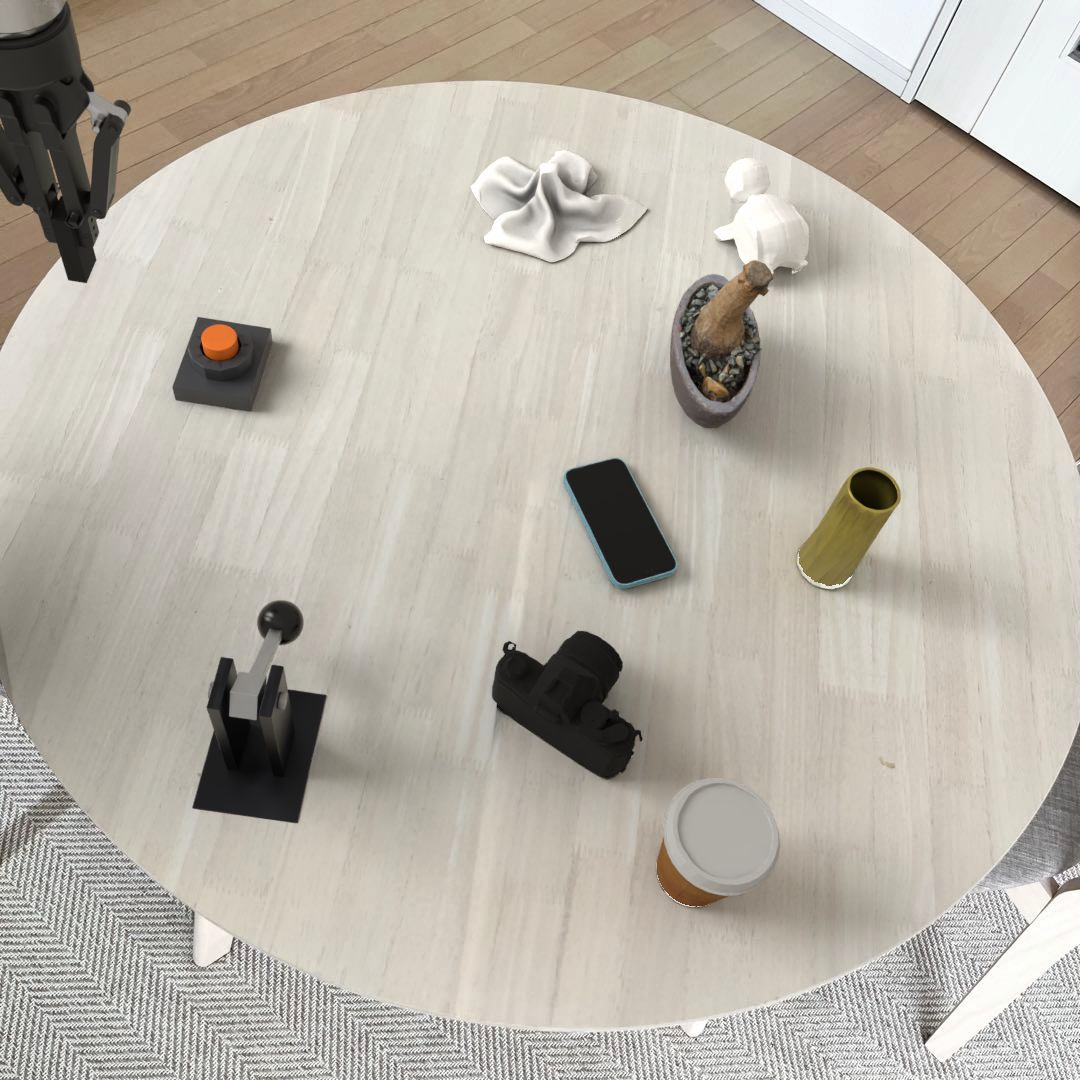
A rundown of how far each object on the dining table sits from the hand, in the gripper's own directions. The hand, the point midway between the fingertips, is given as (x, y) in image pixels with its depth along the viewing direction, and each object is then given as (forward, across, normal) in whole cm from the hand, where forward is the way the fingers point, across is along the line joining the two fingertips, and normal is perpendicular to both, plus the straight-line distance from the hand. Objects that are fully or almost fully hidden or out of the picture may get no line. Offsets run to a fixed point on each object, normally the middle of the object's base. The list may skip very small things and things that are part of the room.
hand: (82, 269), depth 93 cm
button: (+23, -6, -13) cm, 27 cm away
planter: (+26, -58, -20) cm, 67 cm away
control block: (+27, -6, -13) cm, 30 cm away
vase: (+26, -72, +1) cm, 76 cm away
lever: (+18, -19, +25) cm, 37 cm away
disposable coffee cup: (+26, -58, +35) cm, 73 cm away
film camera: (+26, -46, +21) cm, 57 cm away
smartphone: (+26, -50, 0) cm, 56 cm away
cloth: (+26, -40, -46) cm, 66 cm away
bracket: (+27, -19, +29) cm, 44 cm away
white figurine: (+26, -64, -45) cm, 83 cm away
